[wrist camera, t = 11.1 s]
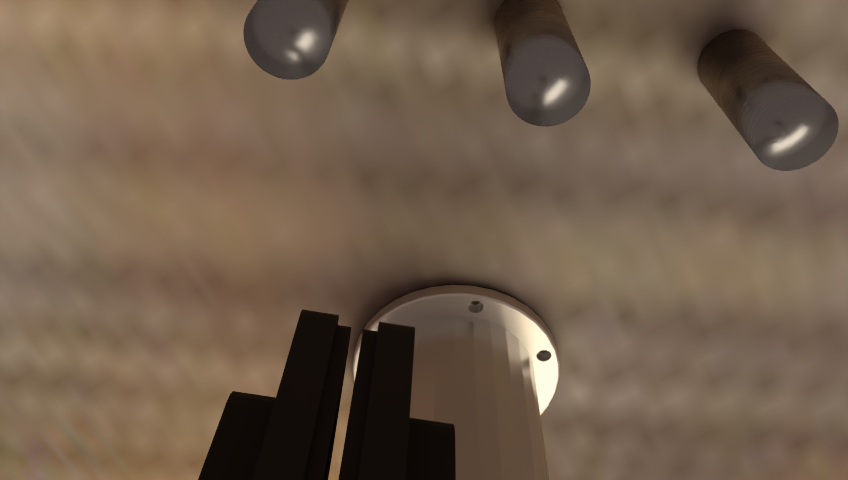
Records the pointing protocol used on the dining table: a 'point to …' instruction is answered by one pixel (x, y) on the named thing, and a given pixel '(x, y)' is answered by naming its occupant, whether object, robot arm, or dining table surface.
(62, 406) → the dining table surface
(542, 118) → the posts
